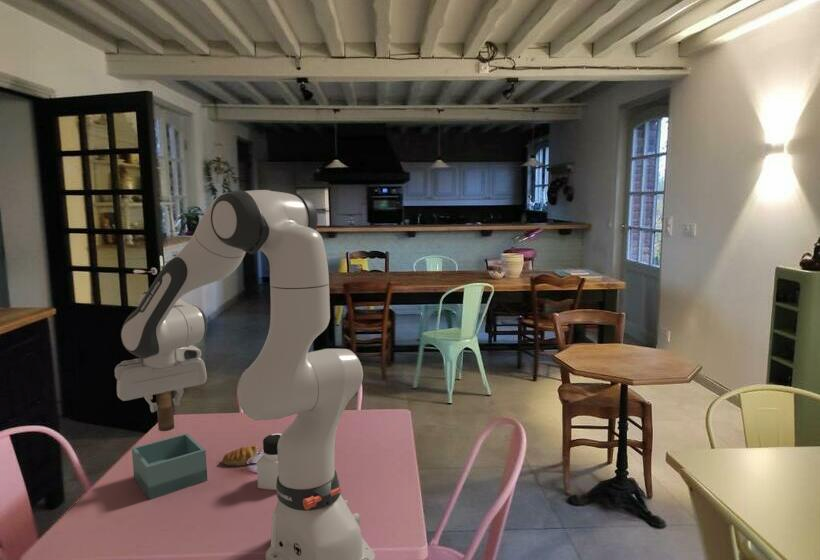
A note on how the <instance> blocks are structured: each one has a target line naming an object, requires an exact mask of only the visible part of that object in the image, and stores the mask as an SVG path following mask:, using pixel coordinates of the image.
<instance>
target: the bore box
mask: <svg viewBox="0 0 820 560" xmlns="http://www.w3.org/2000/svg"><path fill="white" fill-rule="evenodd" d="M131 455H132V456H131V457H132V468H133V469H132V470H133V479H134V480H135V481H136V483H137V482H138V483H137V484H138V486H139V487H140V489H141V490H142V491H143V493H144V494H145V496H146V498H147V499H148V500H149V501H150V500H152V499H156V498H159V497H161V496H162V497H163V496H165V495H167V494H170V493H174V492H177V491H180V490H183V489H186V488H189V487H192V486H196V485H198V484H201V483H205V482H207V481H208V467H207V450H206V449H205V448H204V447H203V446H202V445H201V444H200V443H199V442H197V440H195V438H194V437H192V436H191V435H190V434H189V433H187V432H186V433H182V434H178V435H176V436H175V435H174V436H171V437H167V438H164V439H160V440H157V441H152V442H149V443H146V444H142V445H138V446H134V447H131Z"/></svg>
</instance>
